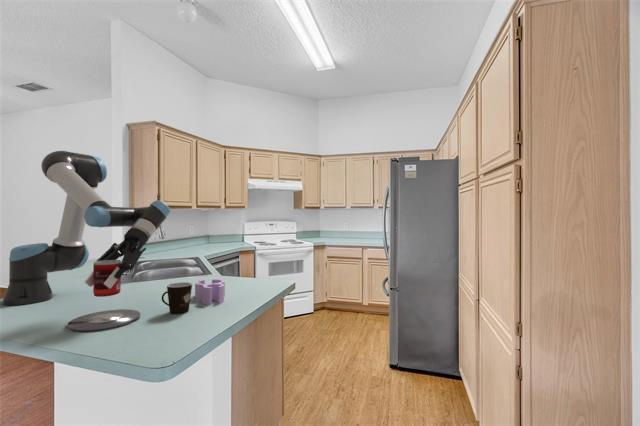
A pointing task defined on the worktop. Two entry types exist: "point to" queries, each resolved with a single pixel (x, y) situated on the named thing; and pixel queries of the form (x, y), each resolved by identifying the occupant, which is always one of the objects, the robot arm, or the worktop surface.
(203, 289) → the clip
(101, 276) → the canned food
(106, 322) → the plate
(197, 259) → the worktop surface
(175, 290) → the coffee mug
